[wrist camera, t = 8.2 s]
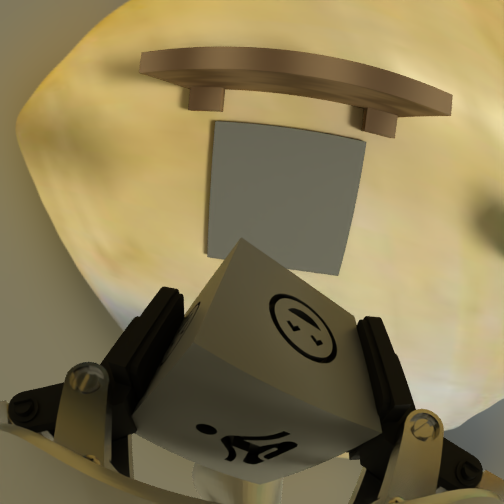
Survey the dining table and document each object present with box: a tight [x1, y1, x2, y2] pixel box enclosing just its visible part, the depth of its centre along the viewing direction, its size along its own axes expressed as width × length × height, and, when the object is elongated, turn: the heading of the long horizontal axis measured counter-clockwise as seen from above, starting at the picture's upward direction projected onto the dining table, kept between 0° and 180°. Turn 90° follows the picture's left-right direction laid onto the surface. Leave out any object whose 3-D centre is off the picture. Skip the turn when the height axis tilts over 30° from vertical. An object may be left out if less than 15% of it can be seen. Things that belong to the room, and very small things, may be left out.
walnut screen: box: [139, 47, 453, 138], centre depth 18 cm, size 20×6×10 cm, turn 84°
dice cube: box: [132, 237, 382, 485], centre depth 8 cm, size 5×5×5 cm
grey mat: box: [207, 121, 366, 276], centre depth 27 cm, size 14×14×1 cm
